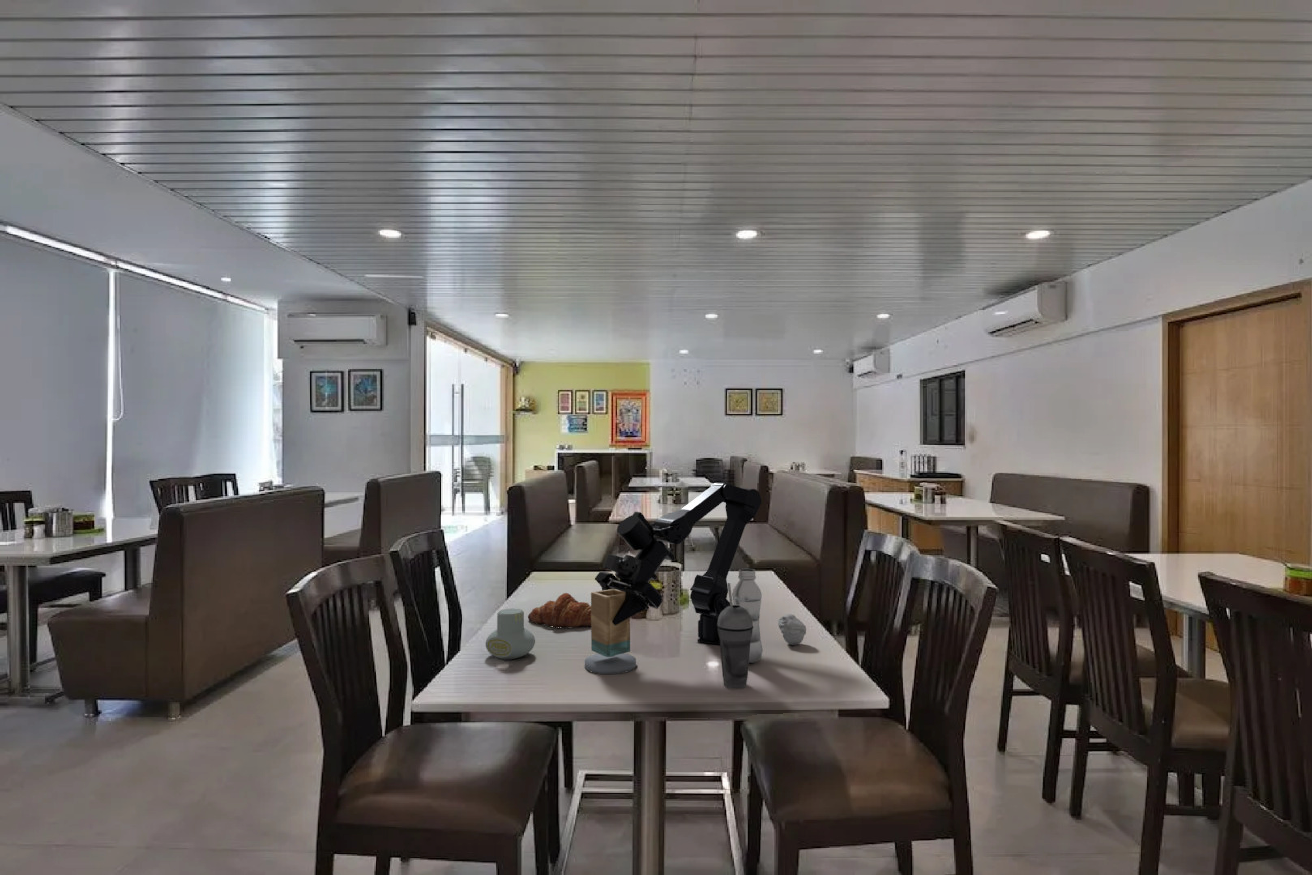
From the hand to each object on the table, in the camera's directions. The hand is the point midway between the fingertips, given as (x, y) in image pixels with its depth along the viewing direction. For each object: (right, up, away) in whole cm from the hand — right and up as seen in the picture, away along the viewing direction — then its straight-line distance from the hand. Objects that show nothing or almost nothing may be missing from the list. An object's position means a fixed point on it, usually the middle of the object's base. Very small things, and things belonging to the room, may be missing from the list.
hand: (605, 620), depth 144 cm
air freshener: (-22, -10, +8) cm, 26 cm away
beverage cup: (+27, -10, -11) cm, 30 cm away
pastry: (-13, -11, +36) cm, 40 cm away
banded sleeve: (+1, -7, +1) cm, 7 cm away
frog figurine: (+43, -10, +16) cm, 48 cm away
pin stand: (+1, -10, +1) cm, 10 cm away
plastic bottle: (+31, -10, +3) cm, 33 cm away
